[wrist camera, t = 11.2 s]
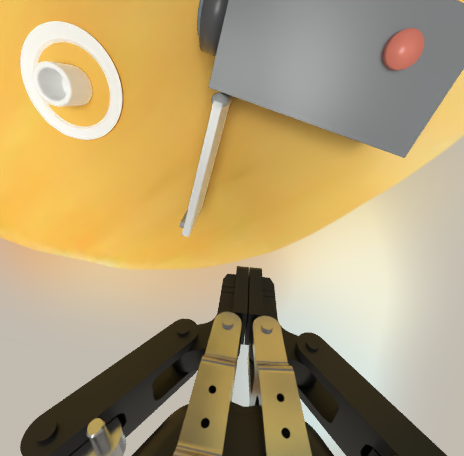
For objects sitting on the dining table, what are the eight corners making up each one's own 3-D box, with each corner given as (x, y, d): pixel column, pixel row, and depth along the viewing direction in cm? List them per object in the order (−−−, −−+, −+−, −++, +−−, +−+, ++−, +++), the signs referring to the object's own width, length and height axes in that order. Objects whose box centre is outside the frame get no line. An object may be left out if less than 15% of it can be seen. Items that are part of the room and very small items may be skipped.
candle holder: (59, 146, 33) (34, 153, 30) (4, 39, 28) (-35, 30, 24) (140, 128, 31) (124, 132, 28) (97, 8, 26) (70, -7, 22)
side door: (220, 90, 28) (209, 89, 21) (234, 95, 28) (227, 95, 21) (192, 205, 35) (176, 233, 28) (203, 208, 35) (190, 237, 28)
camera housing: (200, 82, 28) (176, 76, 19) (225, -36, 23) (208, -113, 15) (364, 141, 29) (409, 160, 21) (419, 42, 25) (507, 14, 16)
